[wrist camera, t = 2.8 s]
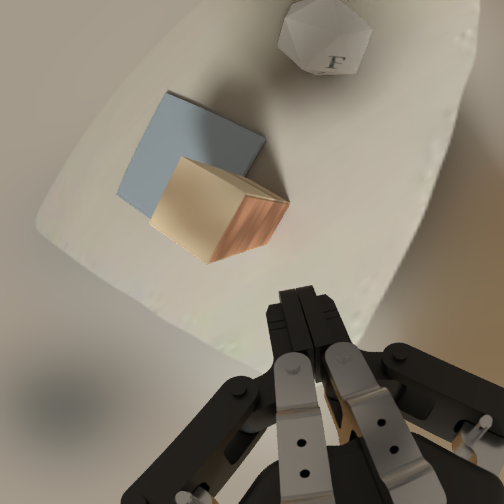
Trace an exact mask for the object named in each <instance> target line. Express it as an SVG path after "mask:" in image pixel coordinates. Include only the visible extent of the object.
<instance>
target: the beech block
mask: <svg viewBox="0 0 504 504" xmlns="http://www.w3.org/2000/svg"><path fill="white" fill-rule="evenodd" d="M289 204H290V202H288V201H286V200H285V199H283V198H281V197H280V196H278V195H276V194H274V193H273V192H271V191H269V190H268V189H266V188H264V187H262V186H261V185H259V184H257V183H256V182H254V181H252V180H250V179H248V178H245V177H243V176H240V175H237V174H234V173H231V172H228V171H225V170H222V169H219V168H216V167H213V166H210V165H207V164H204V163H201V162H198V161H195V160H192V159H189V158H186V157H183V156H181V158H180V160H179V162H178V164H177V166H176V168H175V170H174V172H173V174H172V176H171V178H170V180H169V182H168V184H167V186H166V188H165V190H164V192H163V194H162V196H161V198H160V201H159V203H158V205H157V207H156V209H155V211H154V213H153V216H152V218H151V220H150V222H149V224H150V225H151V226H153V227H154V228H156V229H157V230H158V231H160V232H161V233H163V234H164V235H165V236H167V237H168V238H170V239H171V240H172V241H174V242H175V243H177V244H178V245H179V246H181V247H182V248H184V249H185V250H187V251H188V252H189V253H191V254H192V255H194V256H195V257H197V258H198V259H199V260H201V261H202V262H204V263H205V264H210V263H213V262H216V261H219V260H222V259H225V258H228V257H231V256H234V255H237V254H240V253H243V252H246V251H249V250H252V249H255V248H258V247H261V246H264V245H266V244H267V243H268V241H269V239H270V237H271V236H272V234H273V232H274V231H275V229H276V227H277V225H278V224H279V222H280V220H281V219H282V217H283V215H284V213H285V212H286V210H287V208H288V207H289Z"/></svg>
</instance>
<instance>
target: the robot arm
mask: <svg viewBox="0 0 504 504" xmlns="http://www.w3.org/2000/svg"><path fill="white" fill-rule="evenodd" d="M279 299H280V303H278V304H272V305H269V307H268V310H267V312H266V317H267V323H268V329H269V334H270V340H271V346H272V351H273V357H274V361H273V365H272V367H271V368H270V369H269V370H268V371H267V372H266V373H265V374H263V375H261V376H259V377H257V378H255V379H251V378H249V377H246V376H237V377H233V378H230V379H229V380H227V381H226V382H225V383H224V384H223V385H222V386H221V387H220V389H219V390H218V391H217V392H216V393H215V394H214V396H213V397H212V398H211V399H210V400H209V402H208V403H207V404H206V405H205V406H204V407H203V408H202V410H201V411H200V412H199V413H198V414H197V415H196V416H195V418H194V419H193V420H192V421H191V422H190V423H189V424H188V426H187V427H186V428H185V429H184V430H183V431H182V432H181V433H180V434H179V435H178V437H177V438H176V439H175V440H174V441H173V442H172V443H171V444H170V445H169V446H168V448H167V449H166V450H165V451H164V452H163V453H162V454H161V455H160V456H159V457H158V458H157V459H156V460H155V461H154V462H153V464H152V465H151V466H150V467H149V468H148V469H147V470H146V471H145V472H144V473H143V474H142V475H141V476H140V477H139V478H138V479H137V480H136V481H135V482H134V483H133V484H132V485H131V486H130V487H129V488H128V490H126V492H125V493H124V494H123V496H122V498H121V504H219V503H218V502H217V500H216V499H215V498H214V497H215V496H216V495H217V493H218V492H219V491H220V490H221V489H222V487H223V486H224V485H225V484H226V482H227V481H228V480H229V479H230V477H231V476H232V475H233V473H234V472H235V471H236V470H237V468H238V467H239V466H240V465H241V463H242V462H243V461H244V459H245V458H246V457H247V455H248V454H249V453H250V451H251V450H252V449H253V447H254V446H255V445H256V443H257V442H258V441H259V439H260V438H261V436H262V435H263V434H264V432H265V431H266V429H267V427H269V426H271V425H273V424H275V423H276V424H277V438H278V456H279V460H277V461H276V462H274V463H272V464H271V465H269V466H268V467H267V468H265V469H264V470H263V471H262V472H261V473H260V475H258V477H257V478H256V479H255V481H254V482H253V484H252V485H251V487H250V488H249V489H248V491H247V492H246V494H245V495H244V497H243V498H242V499H241V501H240V502H239V504H504V486H503V484H502V482H501V480H500V479H499V478H498V476H499V474H500V472H501V469H502V467H503V465H504V388H503V387H500V386H498V385H496V384H494V383H491V382H489V381H487V380H485V379H482V378H480V377H478V376H476V375H473V374H471V373H469V372H467V371H465V370H462V369H460V368H458V367H455V366H454V365H451V364H449V363H447V362H445V361H442V360H440V359H438V358H436V357H434V356H431V355H429V354H427V353H425V352H423V351H421V350H418V349H416V348H414V347H412V346H410V345H407V344H404V343H393V344H390V345H389V346H387V347H386V348H385V349H384V351H383V352H367V351H363V350H360V349H359V348H358V347H357V346H355V345H354V344H353V343H352V342H351V340H350V338H349V335H348V333H347V331H346V328H345V326H344V324H343V321H342V319H341V317H340V314H339V312H338V311H337V308H336V305H335V303H334V301H333V300H332V299H331V298H330V297H328V296H327V295H326V294H324V295H319V296H316V293H315V291H314V288H313V286H312V285H310V286H305V287H300V288H296V290H295V289H290V290H284V291H279ZM314 378H315V381H316V383H319V382H322V383H323V387H324V397H325V400H326V403H327V406H328V408H329V411H330V414H331V416H332V419H333V421H334V424H335V426H336V429H337V432H338V436H339V443H340V445H339V446H326V441H325V435H324V428H323V422H322V416H321V410H320V407H319V406H318V401H317V395H316V389H315V383H314ZM404 419H405V420H407V421H409V422H411V423H413V424H415V425H417V426H419V427H420V428H423V429H424V430H426V431H428V432H430V433H432V434H434V435H436V436H438V437H440V438H442V439H444V440H446V441H449V442H451V443H452V450H453V452H454V453H452V452H451V451H448V450H447V449H445V448H443V447H441V446H439V445H437V444H435V443H434V442H432V441H430V440H428V439H427V438H425V437H423V436H421V435H419V434H416V433H414V432H410V430H409V428H408V426H407V424H406V422H405V420H404Z"/></svg>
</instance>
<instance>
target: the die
mask: <svg viewBox="0 0 504 504" xmlns="http://www.w3.org/2000/svg"><path fill="white" fill-rule="evenodd" d="M372 32H373V28H372V27H371V26H370V25H369V24H368V23H367V22H366V21H365V20H364V19H362V18H361V17H360V16H359V15H358V14H357V13H355V12H354V11H353V10H352V9H351V8H350V7H348V6H347V5H346V4H345V3H343V2H342V1H341V0H303V1H299V2H296V3H293V4H292V5H291V7H290V9H289V11H288V13H287V15H286V17H285V19H284V22H283V26H282V30H281V33H280V37H279V40H278V44H277V47H278V48H279V49H280V50H281V51H283V52H284V53H285V54H286V55H287V56H288V57H289V58H290V59H291V60H292V61H293V62H295V63H296V64H297V65H298V66H299V67H300V68H301V69H302V70H304V71H307V72H309V73H312V74H314V75H340V74H356V73H357V71H358V68H359V66H360V63H361V61H362V58H363V55H364V53H365V50H366V48H367V45H368V42H369V40H370V37H371V34H372Z"/></svg>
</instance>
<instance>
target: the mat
mask: <svg viewBox="0 0 504 504" xmlns="http://www.w3.org/2000/svg"><path fill="white" fill-rule="evenodd" d="M265 140H266V139H265V138H264V137H262V136H260V135H258V134H256V133H254V132H252V131H250V130H248V129H246V128H244V127H242V126H239V125H237V124H235V123H233V122H231V121H229V120H227V119H225V118H223V117H220V116H218V115H216V114H214V113H212V112H209V111H207V110H205V109H203V108H200V107H198V106H196V105H194V104H191V103H189V102H187V101H184V100H182V99H179V98H177V97H175V96H172V95H170V94H167V93H165V95H164V97H163V99H162V100H161V102H160V104H159V106H158V108H157V110H156V111H155V113H154V115H153V117H152V119H151V121H150V123H149V125H148V127H147V129H146V131H145V133H144V135H143V137H142V139H141V141H140V143H139V145H138V147H137V149H136V151H135V153H134V155H133V157H132V159H131V162H130V164H129V166H128V168H127V170H126V172H125V175H124V177H123V179H122V182H121V184H120V186H119V188H118V191H117V193H116V195H118V196H119V197H121V198H122V199H123V200H125V201H126V202H127V203H129V204H130V205H132V206H133V207H134V208H136V209H137V210H139V211H140V212H141V213H143V214H144V215H146V216H147V217H148V218H150V219H151V218H152V216H153V213H154V211H155V209H156V207H157V205H158V203H159V201H160V198H161V196H162V194H163V192H164V190H165V188H166V186H167V184H168V182H169V180H170V178H171V176H172V174H173V172H174V170H175V168H176V166H177V164H178V162H179V160H180V158H181V156H183V157H186V158H189V159H192V160H195V161H198V162H201V163H204V164H207V165H210V166H213V167H216V168H219V169H222V170H225V171H228V172H231V173H234V174H237V175H240V176H243V177H245V176H246V174H247V172H248V170H249V168H250V167H251V165H252V163H253V161H254V160H255V158H256V156H257V154H258V153H259V151H260V149H261V147H262V146H263V144H264V142H265Z"/></svg>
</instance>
